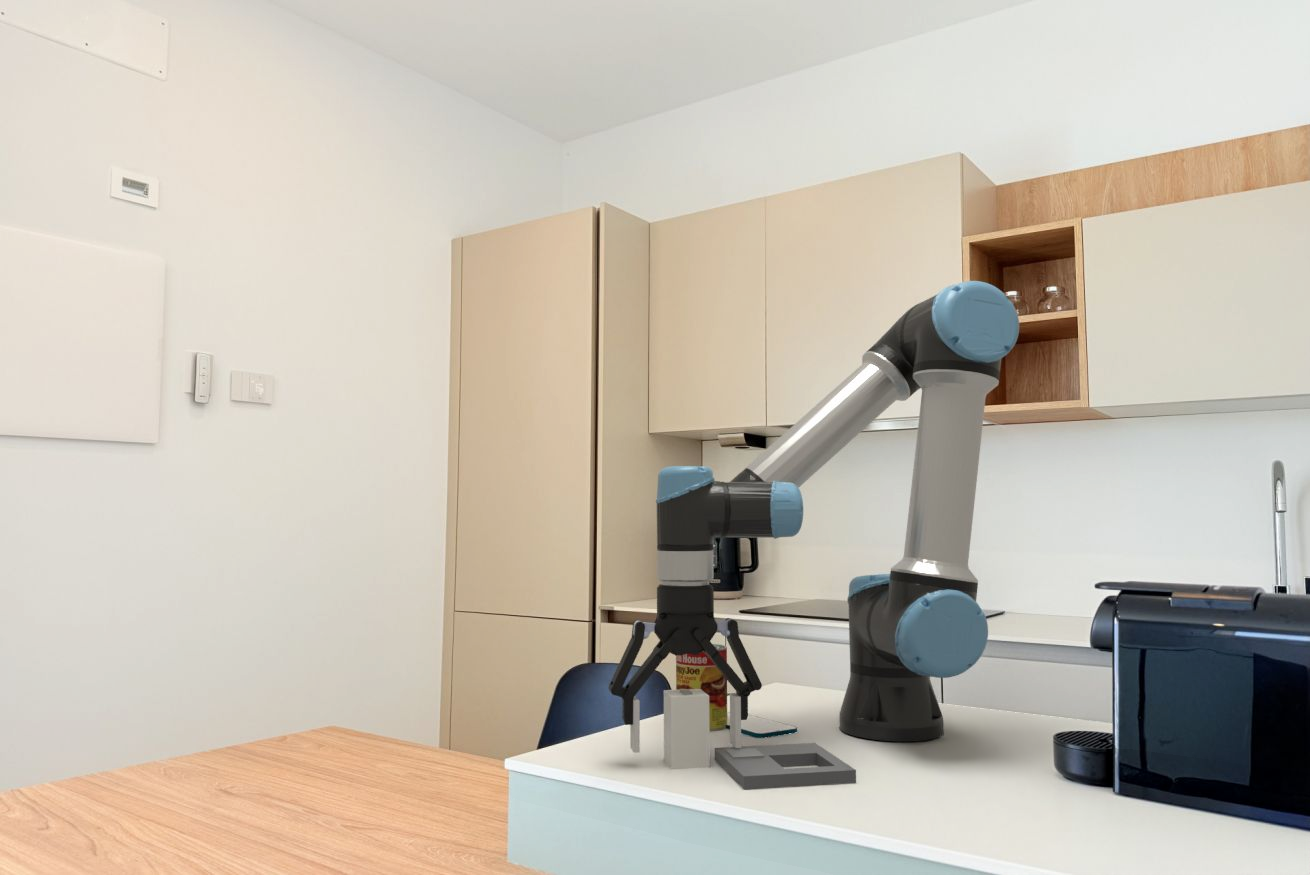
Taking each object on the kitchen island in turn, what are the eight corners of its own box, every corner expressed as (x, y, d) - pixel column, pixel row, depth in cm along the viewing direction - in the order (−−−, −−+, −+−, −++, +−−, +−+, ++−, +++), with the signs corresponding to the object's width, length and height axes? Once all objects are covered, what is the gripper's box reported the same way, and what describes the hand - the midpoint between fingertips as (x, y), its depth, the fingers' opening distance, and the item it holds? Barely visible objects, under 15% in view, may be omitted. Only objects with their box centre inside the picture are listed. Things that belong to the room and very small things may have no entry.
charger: (700, 757, 125) (700, 687, 126) (709, 767, 120) (709, 694, 121) (663, 759, 124) (663, 688, 125) (671, 769, 119) (671, 695, 120)
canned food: (666, 724, 145) (665, 645, 146) (705, 718, 150) (704, 641, 151) (698, 734, 139) (697, 651, 140) (738, 726, 143) (737, 647, 144)
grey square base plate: (815, 754, 127) (814, 741, 127) (856, 782, 113) (855, 768, 113) (714, 759, 124) (714, 746, 124) (743, 789, 110) (743, 774, 110)
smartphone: (696, 722, 149) (758, 740, 136) (696, 716, 149) (758, 734, 136) (736, 716, 153) (800, 734, 140) (736, 711, 153) (800, 727, 140)
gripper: (766, 579, 130) (768, 736, 128) (588, 582, 126) (587, 745, 124) (783, 583, 123) (786, 750, 121) (595, 586, 118) (594, 759, 116)
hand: (685, 748), depth 122 cm, fingers open, 13 cm apart
